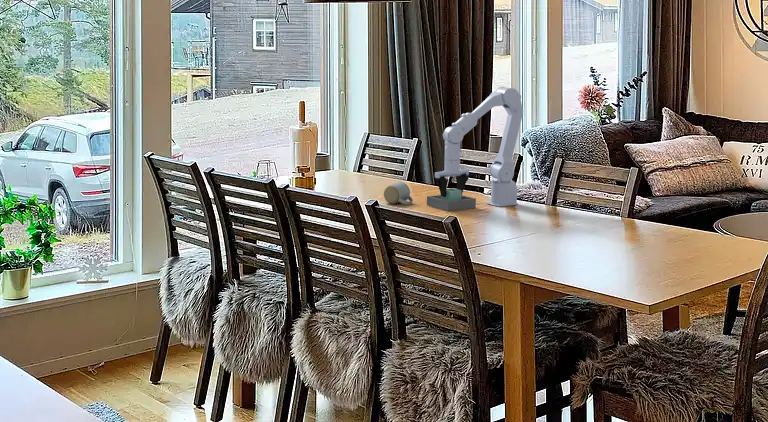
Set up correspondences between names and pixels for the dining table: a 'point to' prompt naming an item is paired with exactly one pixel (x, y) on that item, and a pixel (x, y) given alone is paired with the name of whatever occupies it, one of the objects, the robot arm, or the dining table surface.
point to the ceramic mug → (398, 194)
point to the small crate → (452, 195)
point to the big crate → (451, 203)
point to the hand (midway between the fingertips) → (451, 195)
